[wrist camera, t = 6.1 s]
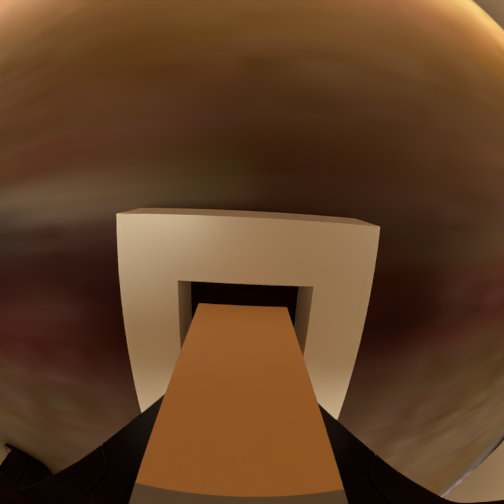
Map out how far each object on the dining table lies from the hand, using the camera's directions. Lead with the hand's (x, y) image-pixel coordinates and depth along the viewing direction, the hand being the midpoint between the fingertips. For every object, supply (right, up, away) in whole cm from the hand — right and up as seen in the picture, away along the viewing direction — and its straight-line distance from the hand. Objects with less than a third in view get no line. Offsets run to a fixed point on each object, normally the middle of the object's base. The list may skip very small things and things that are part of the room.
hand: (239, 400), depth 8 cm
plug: (0, +1, +2) cm, 3 cm away
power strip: (-1, -10, +7) cm, 12 cm away
